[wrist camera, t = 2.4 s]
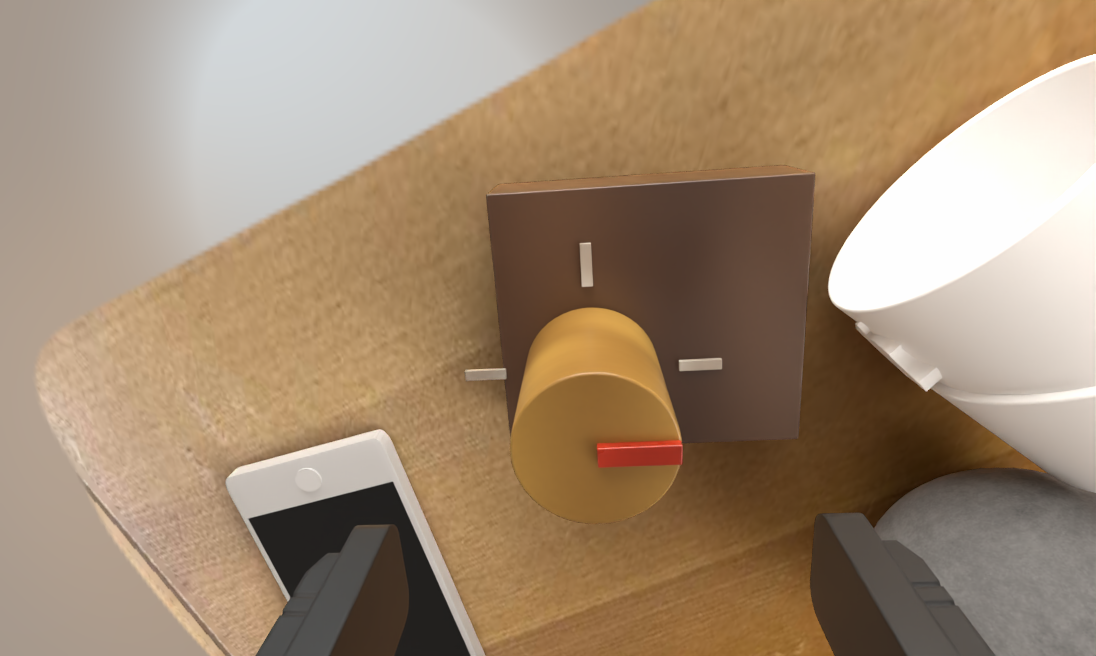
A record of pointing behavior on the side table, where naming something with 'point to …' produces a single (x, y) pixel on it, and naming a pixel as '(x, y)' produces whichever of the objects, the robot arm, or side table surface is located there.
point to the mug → (994, 271)
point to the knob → (594, 420)
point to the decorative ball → (1008, 555)
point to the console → (669, 283)
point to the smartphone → (331, 514)
